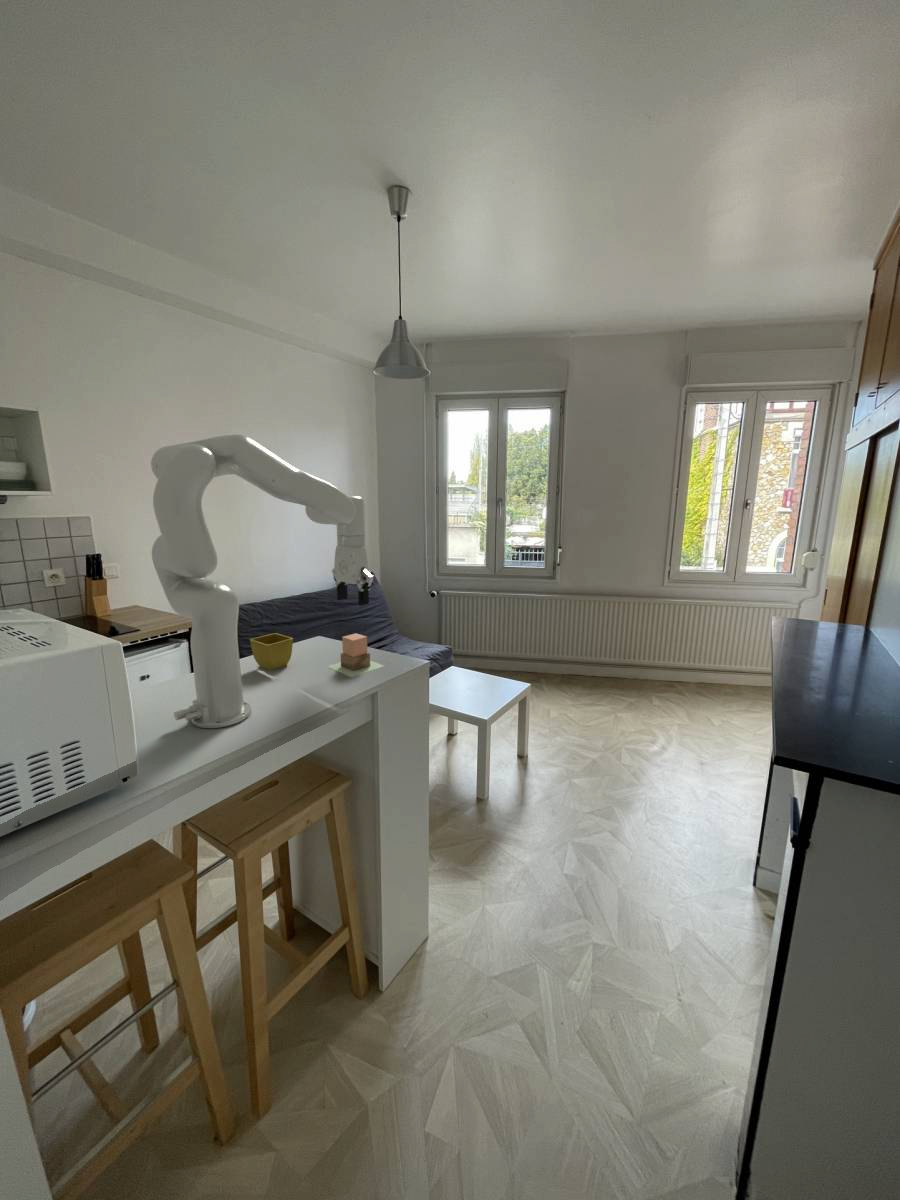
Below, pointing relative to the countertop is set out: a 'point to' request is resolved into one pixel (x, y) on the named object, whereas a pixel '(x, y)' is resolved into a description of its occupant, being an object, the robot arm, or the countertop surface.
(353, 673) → the plate
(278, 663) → the flower pot
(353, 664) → the base block
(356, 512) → the robot arm
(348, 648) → the cube
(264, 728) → the countertop surface
